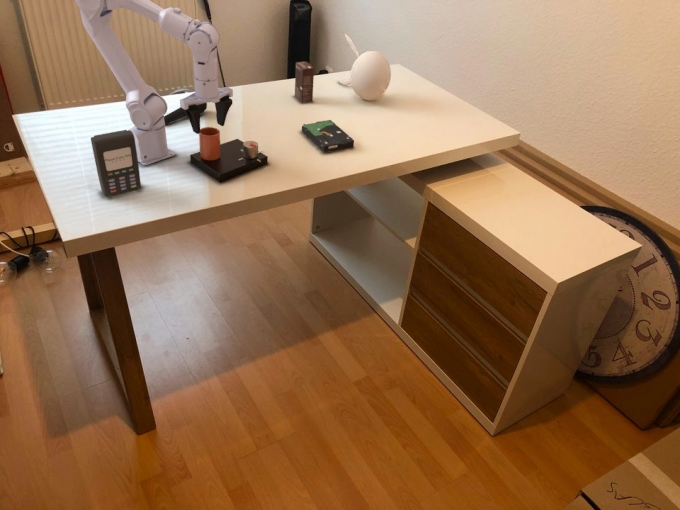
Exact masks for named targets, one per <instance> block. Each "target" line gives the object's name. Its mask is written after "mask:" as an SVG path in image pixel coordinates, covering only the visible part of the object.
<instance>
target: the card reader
mask: <svg viewBox="0 0 680 510" xmlns="http://www.w3.org/2000/svg"><path fill="white" fill-rule="evenodd" d="M90 142H91V143H90V144H91V147H92V153H93V158H94V163H95V168H96V172H97V176H98V177H97V178H98V181H99V185H100V189H101V192H102V194H103V196H104V197H112V196H117V195H122V194H124V193H129V192H132V191H137V190H139V189H140V188H141V187H142V185H141V184H142V183H141V176H140V166H139V162H138V159H137V152H136V144H135V138H134V134H133V133H132V132H131V131H130V130H129V129H128V130H127V129H123V130H117V131H112V132H106V133H101V134H95V135H94V136H91V137H90Z"/></svg>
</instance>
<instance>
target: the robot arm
mask: <svg viewBox="0 0 680 510" xmlns="http://www.w3.org/2000/svg"><path fill="white" fill-rule="evenodd" d="M74 2H75V4H76V6H77V8H78V9H79V13H80V18H81V22H82V25H83V27H84V29H85V31H86V32H87V34H88V36H89V37H90V39H91V40H92V42H93V44H94V45H95V47H96V49H97V50H98V52H99V53H100V55H101V57H102V58H103V60H104V62H105V63H106V64H107V66H108V67H109V69H110V71H111V72H112V74H113V75H114V77H115V80H117V82H118V84H119V85H120V87H121V88H122V90H123V92H124V93H125V95H126V97H125V108H126V109H127V111H128V114H129V119H130V121H131V122H132V124H133V125H134V126H133V127H132V128H129V129H128V130H130V131H131V132H132V133H133V134H134V138H135V144H136V152H137V159H138V163H140V164H141V165H143V166H148V165H151V164H154V163H157V162H160V161H163V160H166V159H169V158H172V157H174V156H175V155H176V154H175V153H174V152H173V151H171V150H170V149H169V147H168V140H167V131H166V125H165V121H164V116H165V114H167V112H168V103H167V101H166V100H165V99H164V97H163V96H162V95H160V94H159V93H158V92H157V90H156V89H155V87H153V86H151V85H149V84H147V83H146V82H145V80H144V79H143V77H142V76H141V74H140V72H139V71H138V69H137V67H136V66H135V64H134V62H133V60H132V59H131V57H130V55H129V54H128V52H127V51H126V49H125V47H124V46H123V44H122V42H121V41H120V39H119V37H118V36H117V34H116V32H115V31H114V29H113V27H112V26H111V24H110V22H111V18H112V15H113V11H114V10H118V9H127V10H129V11H131V12H133V13H134V14H135V13H136V14H138V15H140V16H141V17H144V18H146V19H148V20H150V21H153V22H155V23H157V24H158V26H159V29H160V30H161V32H163V33H165V34H167V35H169V36H171V37H173V38H174V39H176V40H179V41H180V42H182V43H184V44H186V45H187V46H188V48H189V50H190V51H191V53H192V65H193V80H194V81H193V82H194V83H193V84H194V92H193V93H192V94H189V95H188V96H186V97H184V98H181V99H179V105H180V106H179V108H180V107H181V108H182V109H183V110H184V112H185V113H186V115H187V116H186V117H187V119H188V121H189V123H190V126H191V129H192V132H193V133H195V134H196V135H199V133H200V129H201V117H202V114H203V113H202V111H200V110H199V109H198V107H196V105H199V104H203V103H207V104H208V103H213V104H214V106H215V115H216V123H217V125H219V126H220V127H224V126H225V124H226V121H227V115H228V113H229V111H230V109H231V108H232V107H231V106H233V99H232V97H234V92H233V91H234V90H233V88H231V87H229V86H226V87H219V65H218V48H217V45H218V44H219V42H220V39H221V35H220V32H219V30H218V28H217V27H216V26H215V25H213V24H212V23H211V22H210V21H202V22H201V20H200V19H198V18H196V19H195V18H192V17H191V16H189V15H187V14H185V13H183V12H182V9H181V8H179V7H172V6H171V7H167V8H163V7H161V6H159V5H158V4H156V3H155V2H153V1H151V0H74ZM201 113H202V114H201Z"/></svg>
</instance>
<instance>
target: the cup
mask: <svg viewBox="0 0 680 510" xmlns="http://www.w3.org/2000/svg"><path fill="white" fill-rule="evenodd" d="M198 144H199V152H200V156H201V158H203V159H205V160H216V159H218V158H220V156H221V148H220V144H221V131H220V130H219V128H217V127H213V126H205V127H200V133H199V134H198Z"/></svg>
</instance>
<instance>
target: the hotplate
mask: <svg viewBox="0 0 680 510" xmlns="http://www.w3.org/2000/svg"><path fill="white" fill-rule="evenodd" d="M244 142H245V141H242V140H241V139H239V138H234V139H232V140H230V141H227V142H223V143H220V148H221V156H220V158H218V159H216V160H205V159H203V158H201V156H200V151H197V152H194V153H191V154H190V155H189V158H190V160H189V161H190V164H191V165H193V166H194V167H196V168H197V169H199V170H200V171H202V172H203V173H205V174H206V175H208V176H209V177H210V178H212V179H213V180H215V181H217V182H218V183H220V184H221V183H224V182H226V181H229V180H232V179H235V178H237V177H240V176H242V175H244V174H247V173H249V172H252V171H254V170H257V169H260V168H262V167H265V166H267V165H268V163H269V162H268V159H269V157H268V155H266V154H265V153H263V152H264V151H263V150H258V157H257V158H255V159H247V158H245V157H244V156H243V143H244Z"/></svg>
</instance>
